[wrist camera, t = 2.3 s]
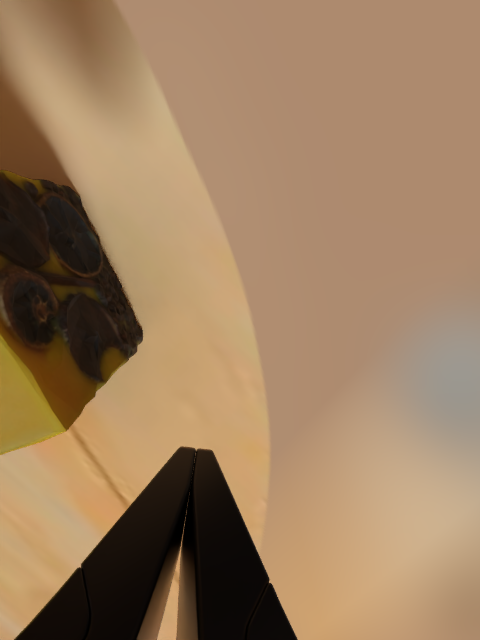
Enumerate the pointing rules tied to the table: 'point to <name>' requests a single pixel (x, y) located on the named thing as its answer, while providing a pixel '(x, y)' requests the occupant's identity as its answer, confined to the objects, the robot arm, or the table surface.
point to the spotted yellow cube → (54, 312)
